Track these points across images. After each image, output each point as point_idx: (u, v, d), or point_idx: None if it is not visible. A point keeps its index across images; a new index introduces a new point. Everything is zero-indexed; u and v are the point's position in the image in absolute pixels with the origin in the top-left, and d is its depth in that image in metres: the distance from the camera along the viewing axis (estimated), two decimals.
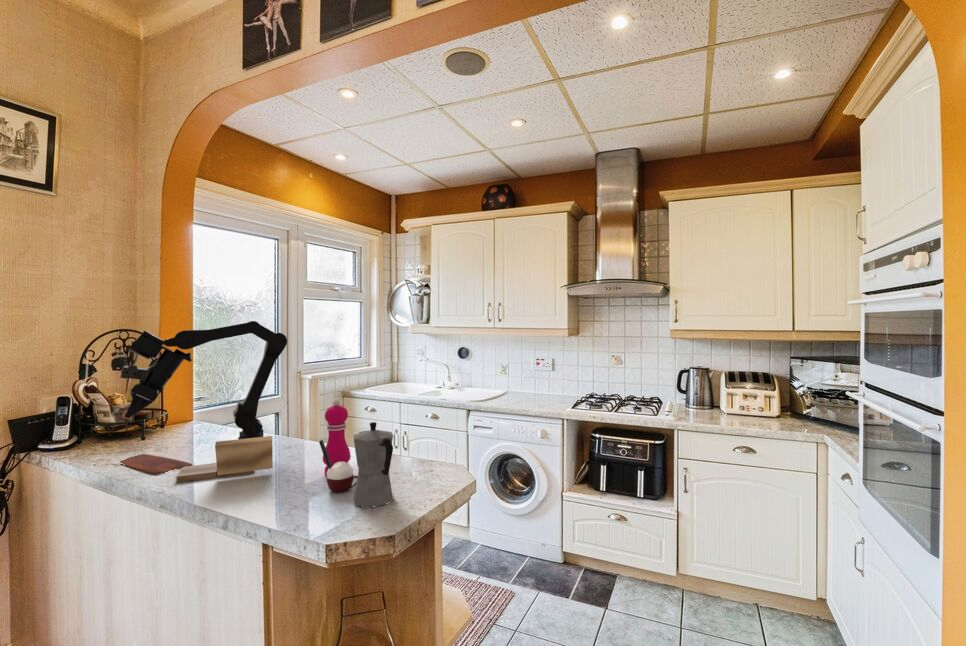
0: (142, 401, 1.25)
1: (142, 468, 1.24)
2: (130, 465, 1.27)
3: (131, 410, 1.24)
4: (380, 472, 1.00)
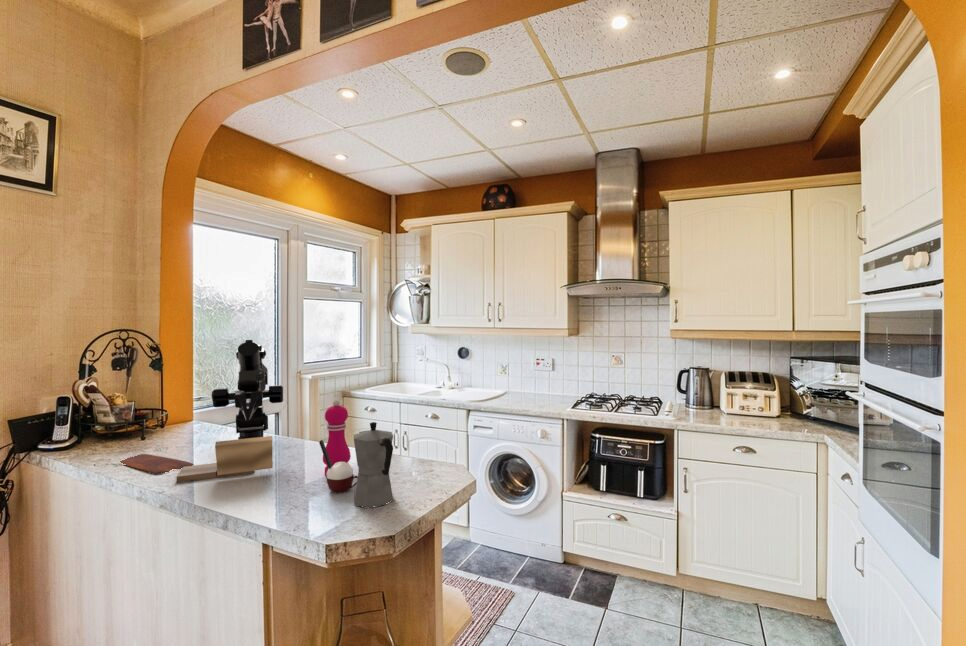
0: (254, 404, 1.32)
1: (143, 468, 1.24)
2: (131, 465, 1.27)
3: (251, 412, 1.29)
4: (380, 472, 1.00)
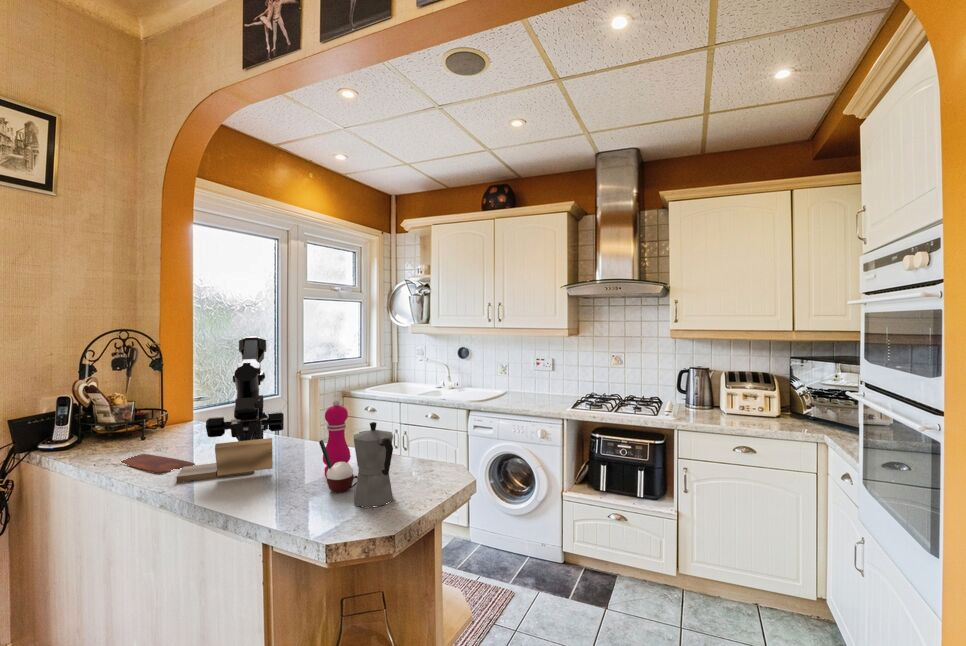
0: None
1: (145, 468, 1.24)
2: (132, 465, 1.27)
3: None
4: (380, 472, 1.00)
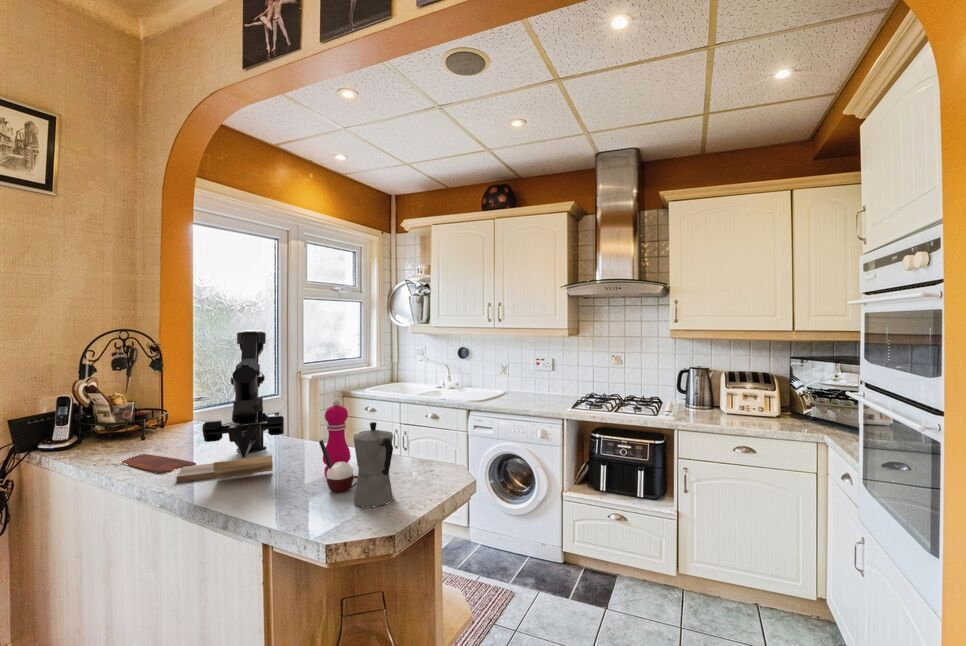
0: None
1: (146, 467, 1.24)
2: (133, 465, 1.27)
3: (247, 448, 1.14)
4: (380, 472, 1.00)
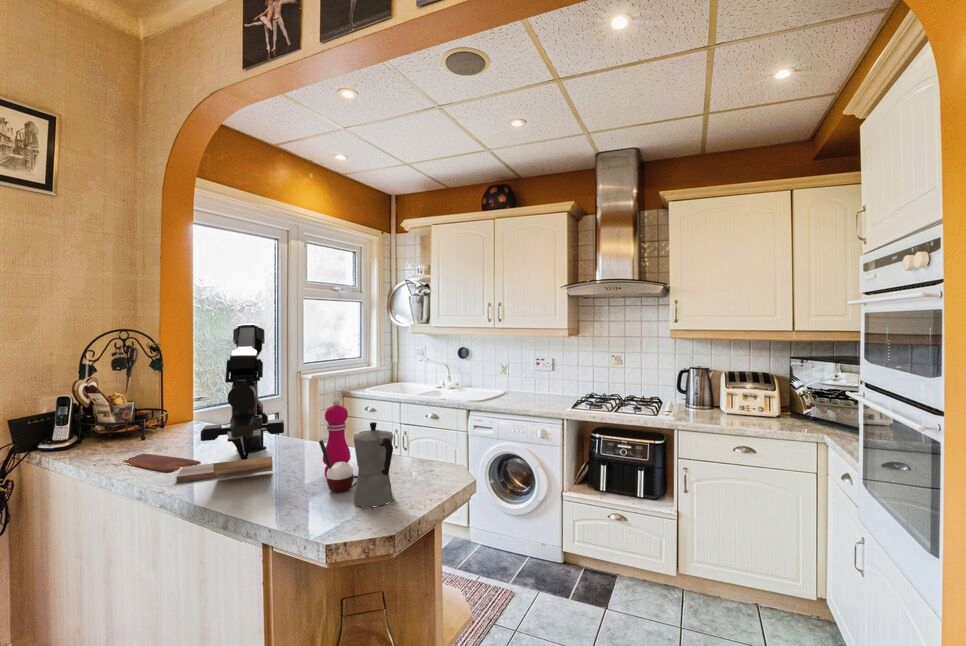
0: None
1: (151, 467, 1.25)
2: (136, 464, 1.28)
3: None
4: (380, 472, 1.00)
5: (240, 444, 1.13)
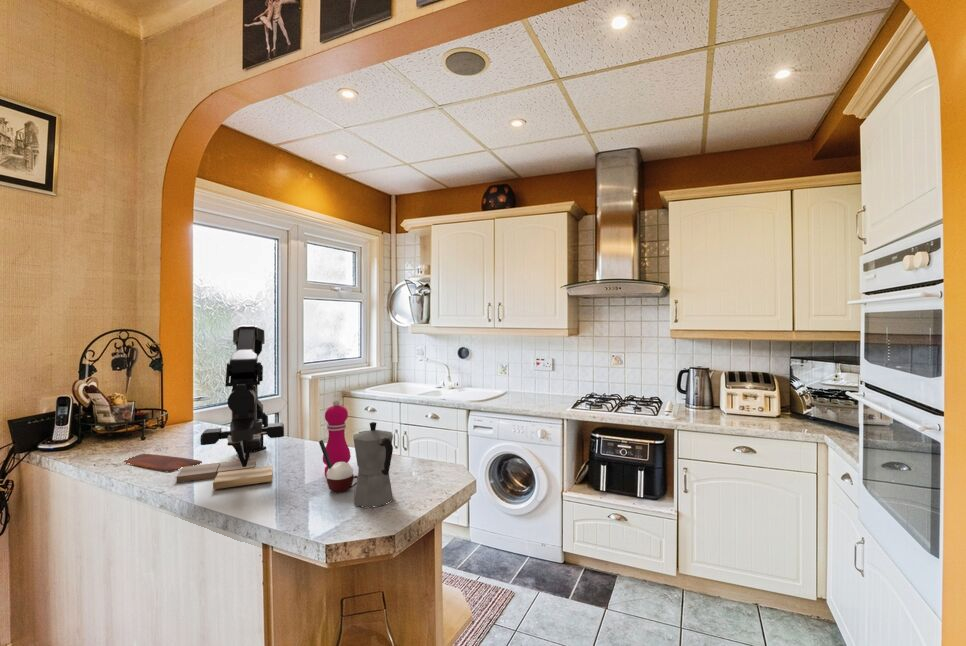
0: None
1: (152, 466, 1.25)
2: (137, 464, 1.28)
3: None
4: (380, 472, 1.00)
5: (240, 448, 1.13)
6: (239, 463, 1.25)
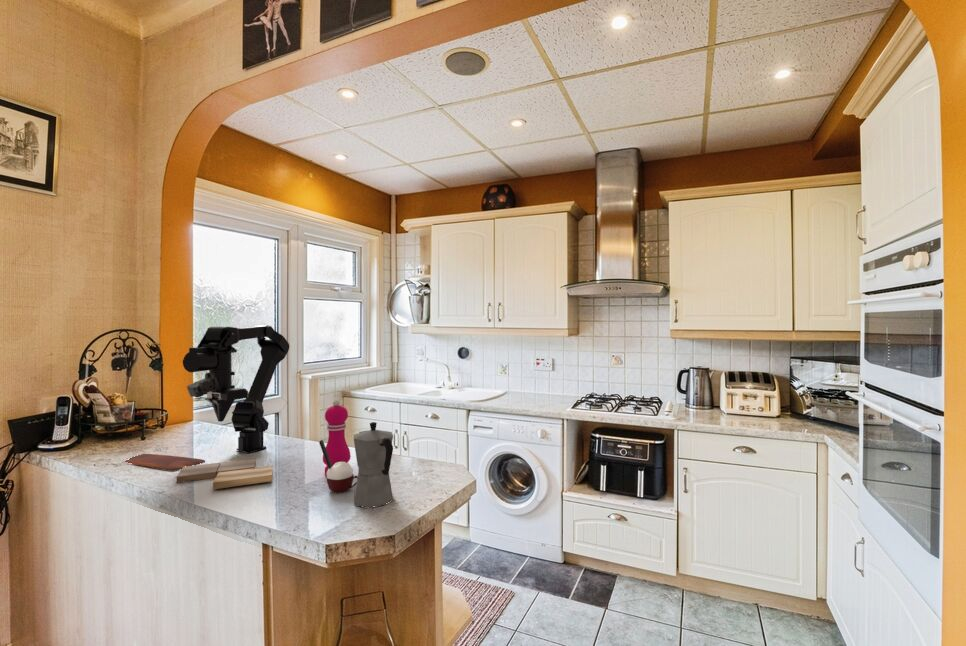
0: (226, 402, 1.31)
1: (156, 466, 1.26)
2: (140, 464, 1.28)
3: (221, 414, 1.31)
4: (380, 472, 1.00)
5: (213, 404, 1.30)
6: (239, 463, 1.25)
